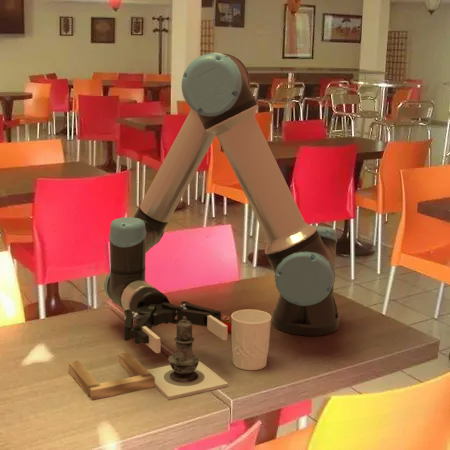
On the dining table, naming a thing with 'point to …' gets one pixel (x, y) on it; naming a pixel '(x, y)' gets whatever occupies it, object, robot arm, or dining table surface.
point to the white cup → (250, 338)
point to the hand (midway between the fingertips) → (193, 339)
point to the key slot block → (96, 390)
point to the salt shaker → (184, 354)
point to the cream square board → (179, 389)
